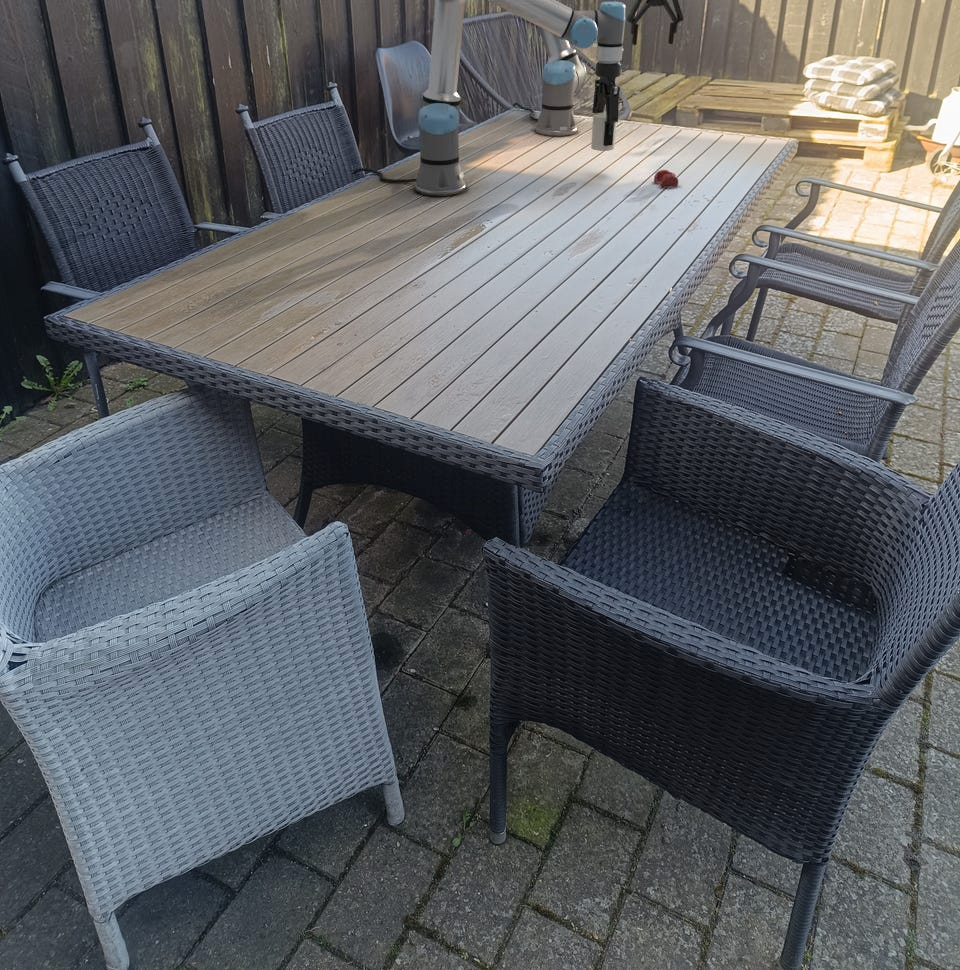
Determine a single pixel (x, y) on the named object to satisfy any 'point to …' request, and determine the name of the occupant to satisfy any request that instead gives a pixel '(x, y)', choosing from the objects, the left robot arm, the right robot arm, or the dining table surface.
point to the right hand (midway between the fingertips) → (652, 44)
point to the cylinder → (600, 133)
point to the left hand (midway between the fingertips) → (602, 142)
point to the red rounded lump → (666, 178)
